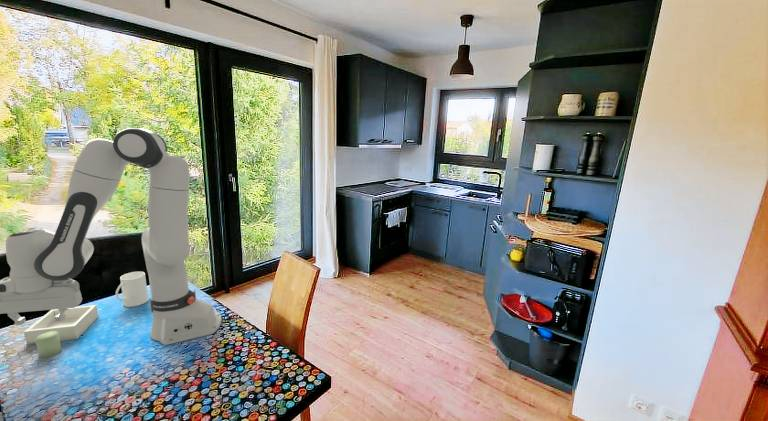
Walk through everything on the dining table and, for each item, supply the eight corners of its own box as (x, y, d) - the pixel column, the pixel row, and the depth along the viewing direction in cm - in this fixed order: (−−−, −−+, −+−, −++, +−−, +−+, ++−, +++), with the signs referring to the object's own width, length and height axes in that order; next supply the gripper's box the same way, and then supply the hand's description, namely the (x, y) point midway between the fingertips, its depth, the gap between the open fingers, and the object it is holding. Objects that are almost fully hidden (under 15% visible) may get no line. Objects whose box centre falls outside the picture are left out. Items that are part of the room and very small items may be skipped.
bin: (98, 316, 118) (96, 304, 117) (77, 338, 105) (74, 325, 104) (54, 321, 114) (51, 309, 113) (26, 345, 101) (23, 331, 100)
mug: (125, 312, 122) (121, 284, 119) (109, 308, 124) (104, 281, 121) (153, 298, 133) (150, 272, 130) (138, 295, 135) (135, 269, 132)
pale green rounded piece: (65, 346, 102) (62, 330, 100) (55, 356, 97) (52, 339, 96) (45, 348, 100) (42, 332, 99) (34, 359, 95) (30, 342, 94)
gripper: (83, 274, 99) (88, 313, 102) (-3, 278, 92) (5, 320, 95) (72, 282, 94) (77, 323, 96) (-22, 288, 87) (-13, 332, 89)
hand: (40, 322), depth 96 cm, fingers open, 8 cm apart
